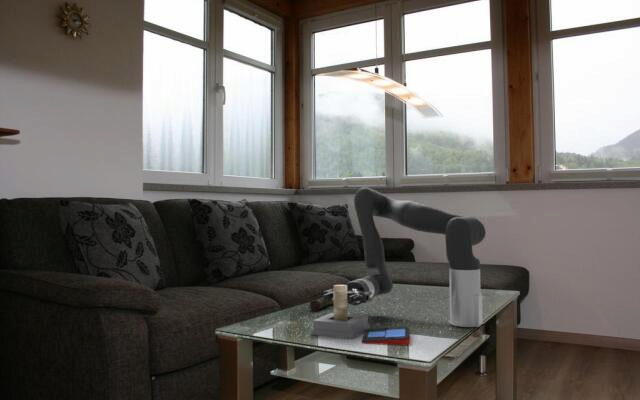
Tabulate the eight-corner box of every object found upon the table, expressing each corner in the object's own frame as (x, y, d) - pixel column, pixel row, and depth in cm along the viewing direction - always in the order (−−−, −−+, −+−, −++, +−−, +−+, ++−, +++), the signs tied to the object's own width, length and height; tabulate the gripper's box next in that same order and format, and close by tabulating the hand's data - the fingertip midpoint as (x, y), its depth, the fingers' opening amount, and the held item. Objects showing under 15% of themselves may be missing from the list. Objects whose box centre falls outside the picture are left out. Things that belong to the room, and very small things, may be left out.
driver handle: (349, 325, 155) (349, 285, 155) (344, 328, 151) (343, 287, 151) (337, 324, 156) (337, 284, 157) (331, 327, 153) (331, 286, 153)
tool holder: (369, 329, 157) (369, 315, 157) (352, 339, 145) (352, 324, 145) (330, 325, 162) (330, 312, 162) (311, 334, 151) (310, 320, 151)
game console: (366, 332, 154) (365, 325, 154) (409, 334, 152) (409, 326, 152) (361, 345, 140) (361, 336, 140) (409, 346, 138) (409, 338, 138)
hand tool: (319, 312, 185) (319, 298, 186) (309, 311, 187) (309, 297, 187) (342, 303, 202) (342, 291, 202) (333, 302, 204) (333, 290, 204)
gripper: (338, 278, 170) (315, 285, 155) (380, 280, 163) (360, 287, 149) (338, 301, 170) (315, 310, 155) (380, 304, 163) (360, 314, 149)
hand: (337, 299), depth 152 cm, fingers open, 7 cm apart
